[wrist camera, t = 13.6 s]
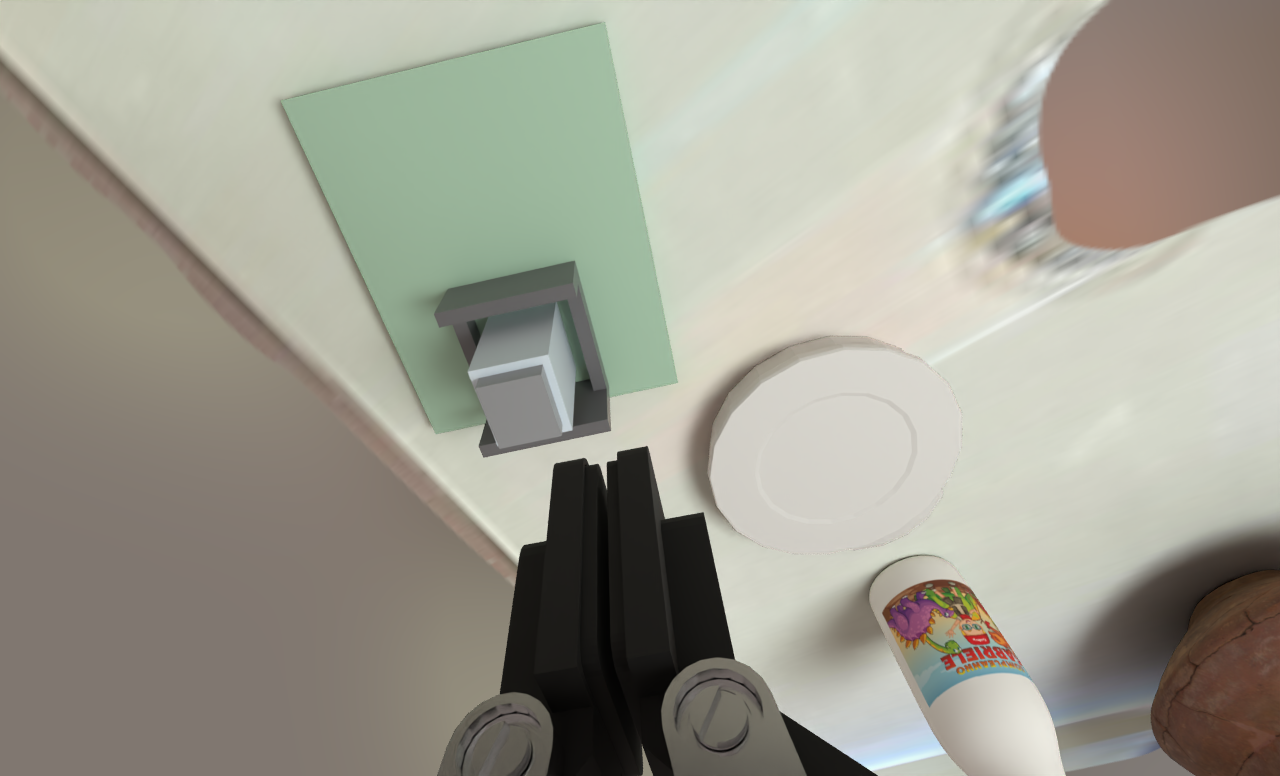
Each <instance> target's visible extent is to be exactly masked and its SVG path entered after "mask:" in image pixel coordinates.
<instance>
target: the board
mask: <svg viewBox="0 0 1280 776" xmlns="http://www.w3.org/2000/svg"><path fill="white" fill-rule="evenodd" d="M281 103H282V105H283V107H284V109H285V111H286V113H287V116H288V118H289V120H290V122H291V124H292V126H293V129H294V131H295V133H296V135H297V137H298V139H299V141H300V144H301V146H302V148H303V150H304V152H305V154H306V156H307V159H308V161H309V163H310V165H311V167H312V169H313V171H314V174H315V176H316V178H317V180H318V182H319V184H320V187H321V189H322V191H323V193H324V195H325V197H326V199H327V202H328V204H329V206H330V208H331V210H332V212H333V214H334V217H335V219H336V221H337V223H338V225H339V227H340V229H341V232H342V234H343V236H344V238H345V240H346V242H347V244H348V247H349V249H350V251H351V253H352V255H353V257H354V260H355V262H356V264H357V266H358V268H359V270H360V272H361V275H362V277H363V279H364V281H365V283H366V285H367V287H368V290H369V292H370V294H371V296H372V298H373V300H374V302H375V305H376V307H377V309H378V311H379V313H380V315H381V317H382V320H383V322H384V324H385V326H386V328H387V330H388V333H389V335H390V337H391V339H392V341H393V343H394V345H395V348H396V350H397V352H398V354H399V356H400V358H401V360H402V363H403V365H404V367H405V369H406V371H407V373H408V375H409V378H410V380H411V382H412V384H413V386H414V388H415V391H416V393H417V395H418V397H419V399H420V401H421V403H422V406H423V408H424V410H425V412H426V414H427V416H428V418H429V421H430V423H431V425H432V427H433V429H434V431H435V433H436V434H439V433H444V432H449V431H453V430H458V429H463V428H468V427H472V426H477V425H482V424H485V423H486V416H485V414H484V411H483V409H482V406H481V404H480V402H479V399H478V397H477V394H476V392H475V389H474V387H473V384H472V382H471V379H470V377H469V374H468V369H469V365H468V363H467V360H466V358H465V355H464V353H463V350H462V348H461V345H460V343H459V340H458V338H457V335H456V333H455V330H454V328H453V325H449V326H445V327H440V328H439V326H438V323H437V321H436V319H435V316H434V312H435V311H436V309H437V307H438V305H439V304H440V302H441V300H442V299H443V297H444V295H445V293H446V292H447V290H448V289H450V288H454V287H459V286H463V285H468V284H472V283H477V282H481V281H485V280H490V279H494V278H499V277H503V276H508V275H512V274H517V273H521V272H526V271H530V270H535V269H539V268H544V267H548V266H552V265H557V264H561V263H566V262H570V261H575V262H576V266H577V270H578V273H579V277H580V281H581V285H582V288H583V292H584V296H585V299H586V303H587V307H588V310H589V314H590V318H591V321H592V325H593V329H594V332H595V336H596V340H597V343H598V347H599V351H600V355H601V358H602V362H603V366H604V369H605V373H606V377H607V380H608V384H609V395H610V397H614V396H618V395H623V394H628V393H633V392H637V391H642V390H647V389H651V388H656V387H661V386H666V385H670V384H675V383H678V380H677V375H676V370H675V366H674V361H673V356H672V351H671V346H670V341H669V336H668V331H667V326H666V321H665V316H664V311H663V306H662V301H661V296H660V291H659V287H658V282H657V277H656V272H655V267H654V262H653V257H652V252H651V247H650V242H649V237H648V232H647V227H646V222H645V217H644V212H643V207H642V203H641V198H640V193H639V188H638V183H637V178H636V173H635V168H634V163H633V158H632V153H631V148H630V143H629V138H628V133H627V128H626V124H625V119H624V114H623V109H622V104H621V99H620V94H619V89H618V84H617V79H616V74H615V69H614V64H613V59H612V54H611V49H610V44H609V40H608V35H607V30H606V25H605V22H603V23H599V24H595V25H591V26H587V27H583V28H579V29H574V30H570V31H566V32H562V33H558V34H554V35H550V36H546V37H541V38H537V39H533V40H529V41H525V42H521V43H517V44H513V45H508V46H504V47H500V48H496V49H492V50H488V51H484V52H480V53H475V54H471V55H467V56H463V57H459V58H455V59H451V60H446V61H442V62H438V63H434V64H430V65H426V66H422V67H418V68H413V69H409V70H405V71H401V72H397V73H393V74H389V75H385V76H380V77H376V78H372V79H368V80H364V81H360V82H356V83H352V84H347V85H343V86H339V87H335V88H331V89H327V90H323V91H319V92H314V93H310V94H306V95H302V96H298V97H294V98H290V99H286V100H281ZM557 304H558V307H559V310H560V314H561V317H562V321H563V324H564V327H565V331H566V334H567V337H568V341H569V344H570V348H571V351H572V354H573V358H574V361H575V364H576V377H575V382H578V381H583V380H588V379H590V377H589V373H588V370H587V366H586V363H585V359H584V356H583V352H582V349H581V345H580V342H579V338H578V335H577V331H576V328H575V324H574V321H573V318H572V314H571V311H570V307H569V304H568V300H563V301H558V302H557ZM487 319H488V317H486V318H481V319H477V320H475V322H476V325H477V327H478V330H479V332H480V335H482V333H483V330H484V327H485V325H486V322H487Z"/></svg>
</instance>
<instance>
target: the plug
mask: <svg viewBox="0 0 1280 776" xmlns="http://www.w3.org/2000/svg"><path fill="white" fill-rule="evenodd" d="M468 374H469V377H470V379H471V382H472V384H473V387H474V389H475V392H476V394H477V397H478V399H479V402H480V404H481V406H482V409H483V411H484V414H485V416H486V419H487V421H488V424H489V426H490V429H491V431H492V434H493V436H494V439H495V441H496V444H497V446H499V449H502V448H507V447H511V446H516V445H521V444H526V443H531V442H535V441H540V440H545V439H550V438H555V437H559V436H562V432H567V431H572V430H573V412H574V395H575V377H576V364H575V361H574V358H573V354H572V351H571V348H570V344H569V341H568V337H567V334H566V331H565V327H564V324H563V321H562V317H561V314H560V310H559V307H558V304H557V302H554V303H549V304H545V305H540V306H535V307H531V308H526V309H522V310H517V311H513V312H508V313H504V314H499V315H495V316H490V317H488V319H487V322H486V325H485V327H484V330H483V333H482V335H481V338H480V340H479V343H478V346H477V348H476V351H475V354H474V356H473V359H472V361H471V364H470V367H469V369H468Z"/></svg>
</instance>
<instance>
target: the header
mask: <svg viewBox="0 0 1280 776" xmlns="http://www.w3.org/2000/svg"><path fill="white" fill-rule="evenodd" d="M563 300H568V304H569V307H570V311H571V314H572V318H573V321H574V324H575V328H576V331H577V335H578V338H579V342H580V345H581V349H582V352H583V356H584V359H585V363H586V366H587V370H588V373H589V377H590V379H588V380H583V381H578V382H575V395H574V412H573V430H572V431H567V432H562V436H559V437H555V438H550V439H545V440H540V441H535V442H531V443H526V444H521V445H516V446H511V447H507V448H502V449H499V446H497V444H496V441H495V439H494V436H493V434H492V431H491V429H490V426H489V424H488V421H487V419H486V423H485V426H484V430H483V433H482V437H481V440H480V444H479V448H480V450H481V453H482V455H483V457H489V456H493V455H498V454H503V453H508V452H512V451H517V450H522V449H527V448H531V447H536V446H541V445H546V444H551V443H555V442H560V441H565V440H570V439H574V438H579V437H584V436H589V435H594V434H598V433H603V432H608V431H611V419H610V395H609V384H608V380H607V377H606V373H605V369H604V366H603V362H602V358H601V355H600V351H599V347H598V343H597V340H596V336H595V332H594V329H593V325H592V321H591V318H590V314H589V310H588V307H587V303H586V299H585V296H584V292H583V288H582V285H581V281H580V277H579V273H578V270H577V266H576V262H575V261H570V262H566V263H561V264H557V265H552V266H548V267H544V268H539V269H535V270H530V271H526V272H521V273H517V274H512V275H508V276H503V277H499V278H494V279H490V280H485V281H481V282H477V283H472V284H468V285H463V286H459V287H454V288H450V289H448V290H447V292H446V293H445V295H444V297H443V299H442V300H441V302H440V304H439V305H438V307H437V309H436V311H435V312H434V316H435V319H436V321H437V323H438V326H439V328H440V327H445V326H449V325H453V328H454V330H455V333H456V335H457V338H458V340H459V343H460V345H461V348H462V350H463V353H464V355H465V358H466V360H467V363H468V365H469V367H470V364H471V361H472V359H473V356H474V354H475V351H476V348H477V346H478V343H479V340H480V338H481V335H480V332H479V330H478V327H477V325H476V322H475V320H477V319H481V318H486V317H490V316H495V315H499V314H504V313H508V312H513V311H517V310H522V309H526V308H531V307H535V306H540V305H545V304H549V303H554V302H558V301H563Z"/></svg>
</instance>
